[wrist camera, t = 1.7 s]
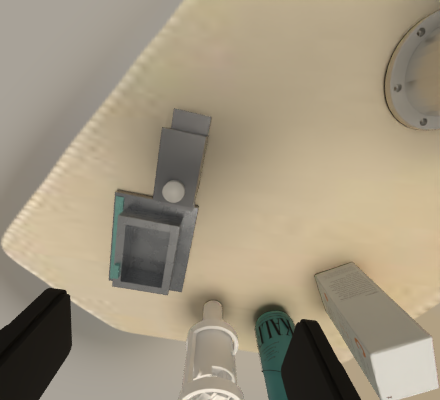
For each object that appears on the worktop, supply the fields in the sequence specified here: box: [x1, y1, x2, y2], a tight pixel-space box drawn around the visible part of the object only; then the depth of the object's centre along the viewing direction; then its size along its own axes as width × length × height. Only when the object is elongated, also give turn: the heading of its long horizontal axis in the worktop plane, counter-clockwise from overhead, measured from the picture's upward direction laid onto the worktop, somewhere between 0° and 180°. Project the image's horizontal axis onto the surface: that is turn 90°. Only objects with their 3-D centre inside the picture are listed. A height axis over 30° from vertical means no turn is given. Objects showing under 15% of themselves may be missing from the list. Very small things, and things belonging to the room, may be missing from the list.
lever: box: [153, 108, 211, 211], centre depth 24 cm, size 11×4×9 cm, turn 168°
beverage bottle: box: [254, 311, 296, 400], centre depth 27 cm, size 6×7×20 cm
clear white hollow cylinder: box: [178, 300, 244, 400], centre depth 28 cm, size 7×7×15 cm
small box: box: [315, 262, 439, 400], centre depth 29 cm, size 8×6×13 cm
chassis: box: [109, 190, 199, 295], centre depth 30 cm, size 14×11×4 cm
